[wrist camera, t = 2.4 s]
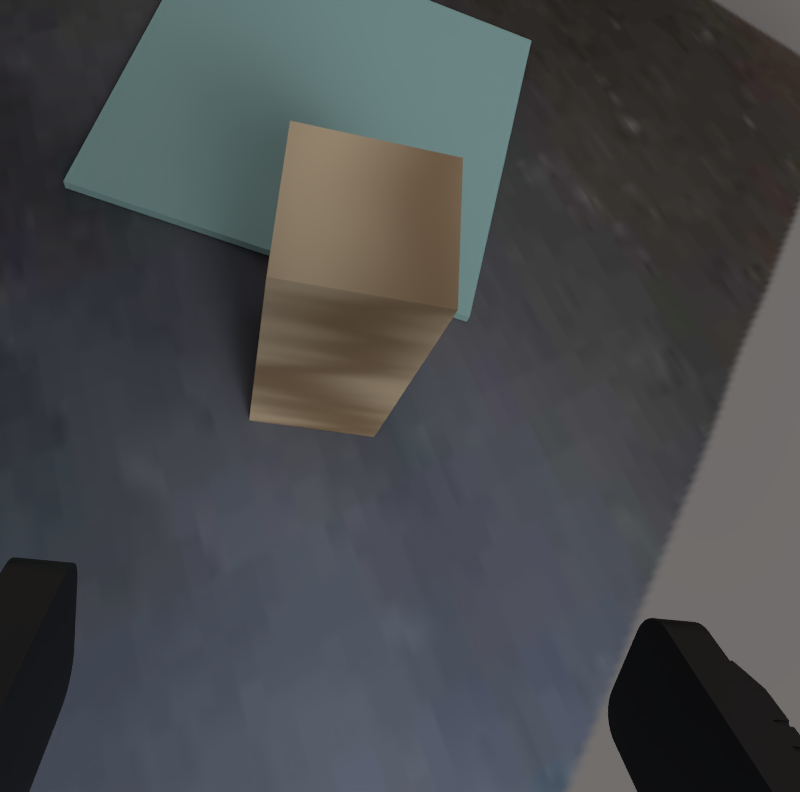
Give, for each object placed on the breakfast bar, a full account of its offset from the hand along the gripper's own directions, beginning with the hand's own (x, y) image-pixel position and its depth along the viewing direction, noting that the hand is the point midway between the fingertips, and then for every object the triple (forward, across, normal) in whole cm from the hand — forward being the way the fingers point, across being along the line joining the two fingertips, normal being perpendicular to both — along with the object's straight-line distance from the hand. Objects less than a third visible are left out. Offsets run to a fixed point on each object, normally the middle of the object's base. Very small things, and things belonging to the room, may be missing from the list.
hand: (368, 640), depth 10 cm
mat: (+26, +1, -6) cm, 26 cm away
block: (+17, 0, +3) cm, 17 cm away
